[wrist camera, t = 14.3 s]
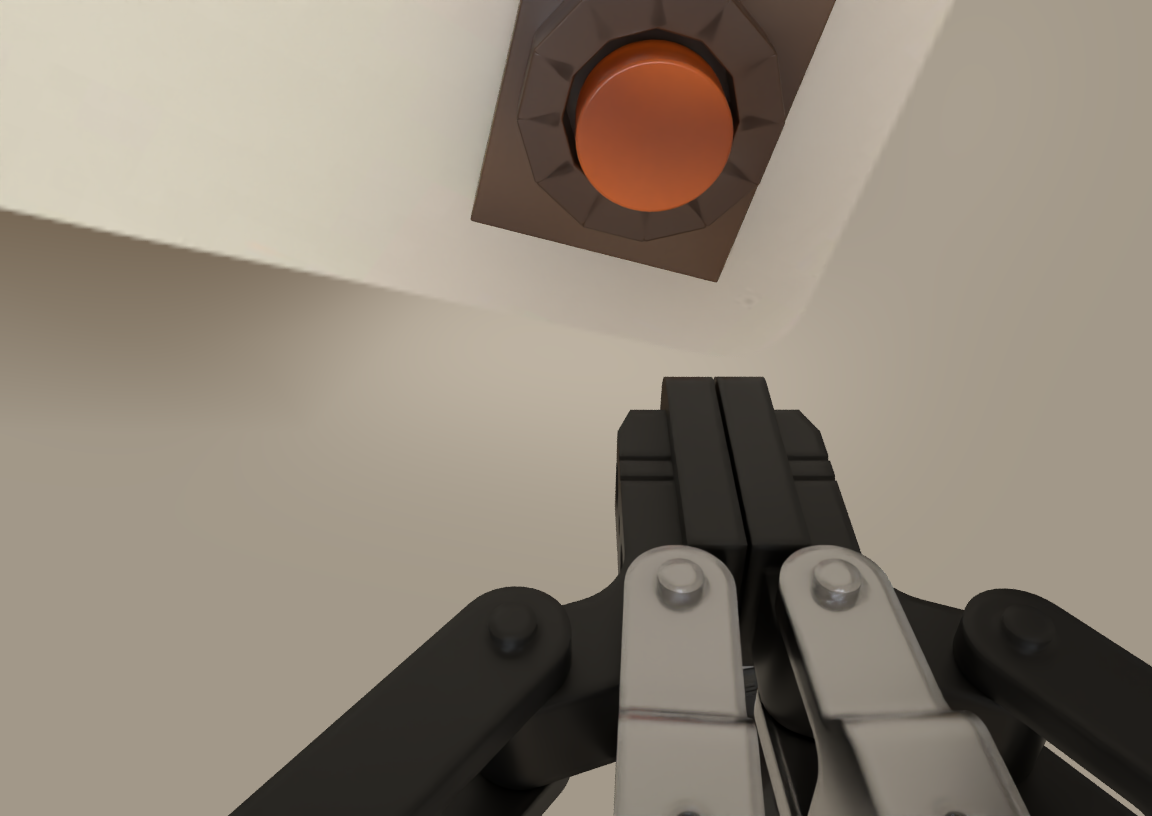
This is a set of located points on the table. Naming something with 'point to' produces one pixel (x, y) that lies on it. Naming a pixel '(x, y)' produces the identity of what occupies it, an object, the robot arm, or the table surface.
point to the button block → (548, 107)
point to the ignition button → (652, 126)
